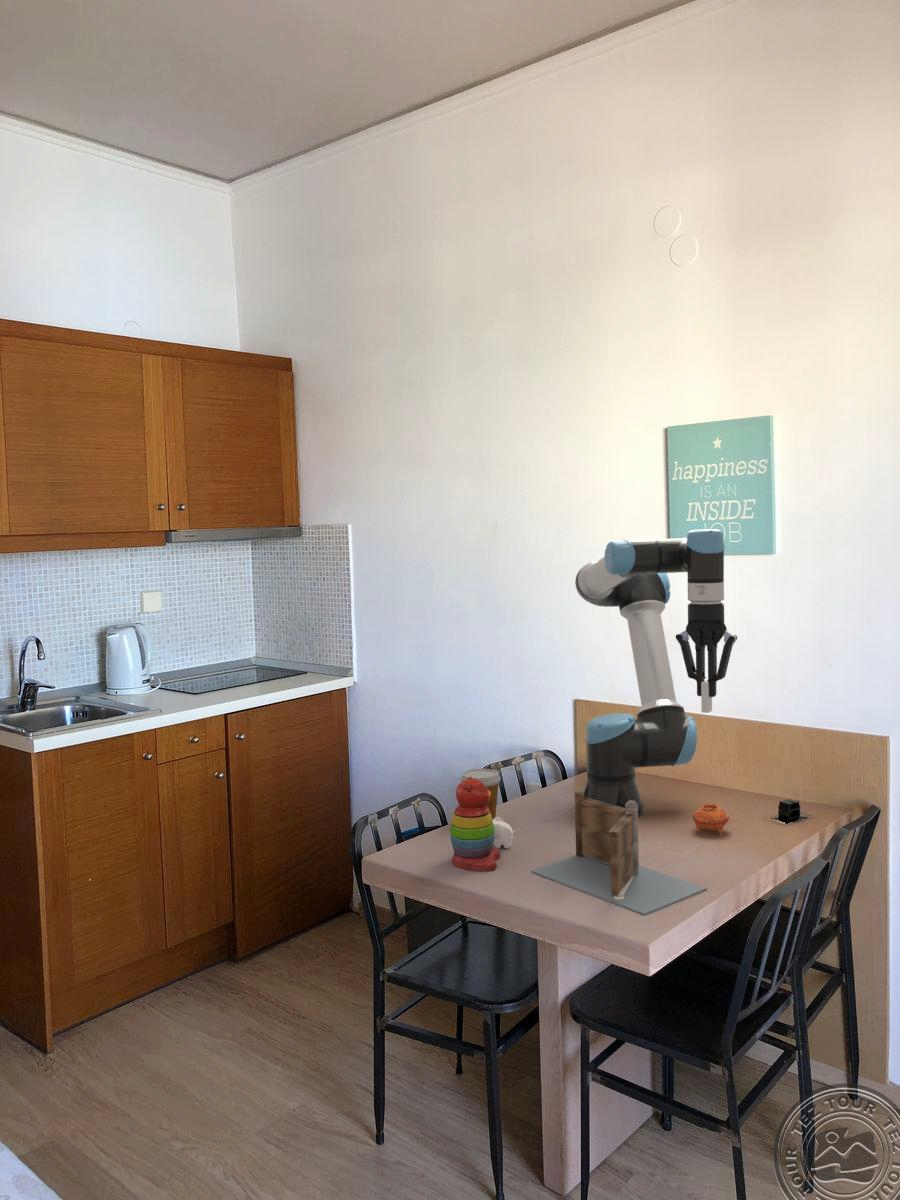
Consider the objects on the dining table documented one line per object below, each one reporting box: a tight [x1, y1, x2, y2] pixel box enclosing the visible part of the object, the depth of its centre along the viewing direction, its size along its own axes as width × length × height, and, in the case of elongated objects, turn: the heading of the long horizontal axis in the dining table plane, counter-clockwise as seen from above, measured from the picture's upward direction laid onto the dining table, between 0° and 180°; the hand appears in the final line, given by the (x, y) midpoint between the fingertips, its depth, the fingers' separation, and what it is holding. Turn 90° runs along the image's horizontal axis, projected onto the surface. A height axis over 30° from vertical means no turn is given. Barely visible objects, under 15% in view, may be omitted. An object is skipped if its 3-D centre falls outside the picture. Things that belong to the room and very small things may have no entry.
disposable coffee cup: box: [460, 768, 501, 820], centre depth 234 cm, size 10×10×12 cm
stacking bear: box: [449, 777, 501, 872], centre depth 207 cm, size 11×10×18 cm
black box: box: [770, 798, 809, 825], centre depth 230 cm, size 12×7×5 cm, turn 122°
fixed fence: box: [574, 791, 640, 875], centre depth 203 cm, size 17×3×15 cm, turn 38°
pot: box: [692, 803, 730, 836], centre depth 222 cm, size 8×8×7 cm
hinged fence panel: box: [609, 814, 634, 895], centre depth 190 cm, size 12×2×12 cm, turn 155°
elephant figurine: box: [492, 816, 518, 849], centre depth 217 cm, size 7×8×6 cm
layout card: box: [530, 855, 708, 916], centre depth 195 cm, size 30×18×1 cm, turn 38°
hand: (706, 711), depth 211 cm, fingers closed
